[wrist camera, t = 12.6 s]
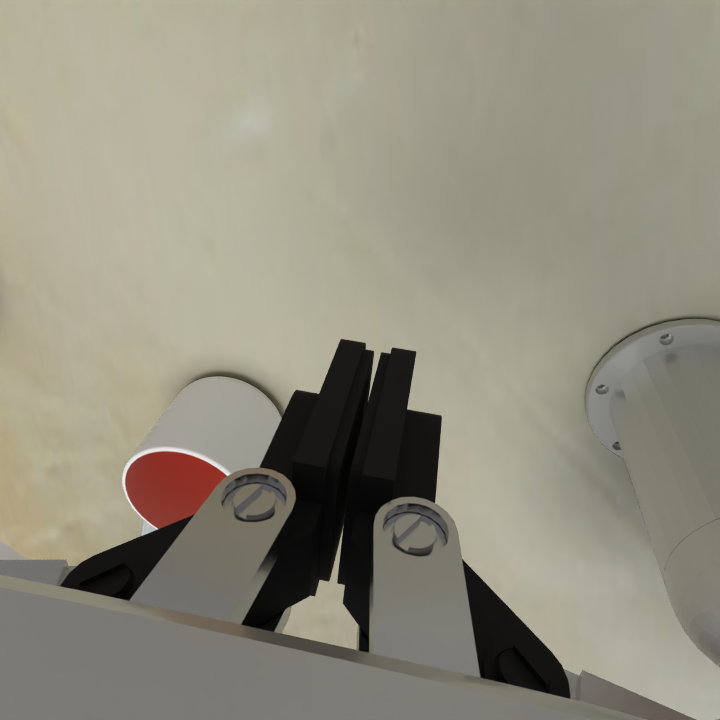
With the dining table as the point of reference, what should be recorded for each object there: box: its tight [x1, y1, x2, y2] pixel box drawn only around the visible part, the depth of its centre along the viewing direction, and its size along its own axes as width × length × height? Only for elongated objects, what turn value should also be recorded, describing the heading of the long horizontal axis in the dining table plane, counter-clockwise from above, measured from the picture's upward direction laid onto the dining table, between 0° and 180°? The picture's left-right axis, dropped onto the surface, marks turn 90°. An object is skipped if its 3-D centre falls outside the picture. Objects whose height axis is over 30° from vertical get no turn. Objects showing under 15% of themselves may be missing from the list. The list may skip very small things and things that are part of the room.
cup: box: [122, 376, 282, 529], centre depth 46 cm, size 10×10×10 cm
